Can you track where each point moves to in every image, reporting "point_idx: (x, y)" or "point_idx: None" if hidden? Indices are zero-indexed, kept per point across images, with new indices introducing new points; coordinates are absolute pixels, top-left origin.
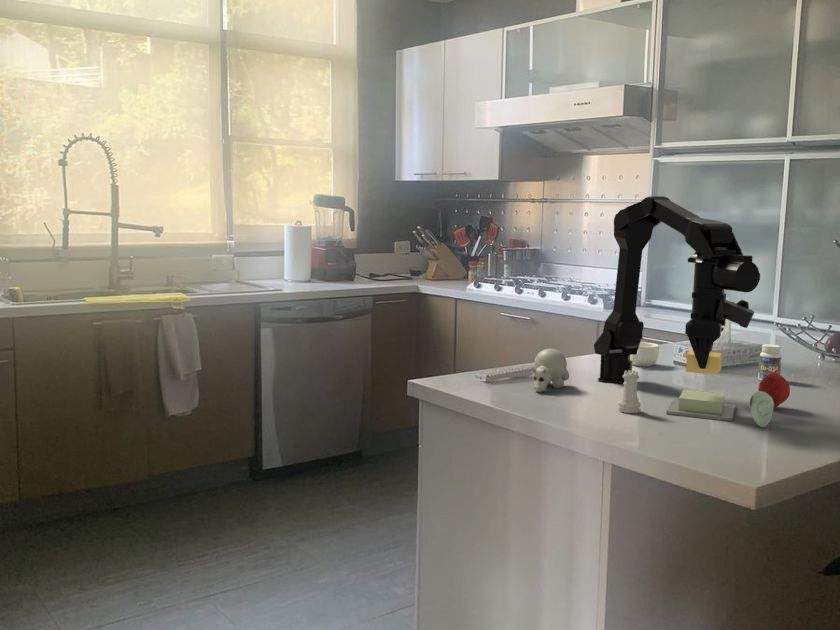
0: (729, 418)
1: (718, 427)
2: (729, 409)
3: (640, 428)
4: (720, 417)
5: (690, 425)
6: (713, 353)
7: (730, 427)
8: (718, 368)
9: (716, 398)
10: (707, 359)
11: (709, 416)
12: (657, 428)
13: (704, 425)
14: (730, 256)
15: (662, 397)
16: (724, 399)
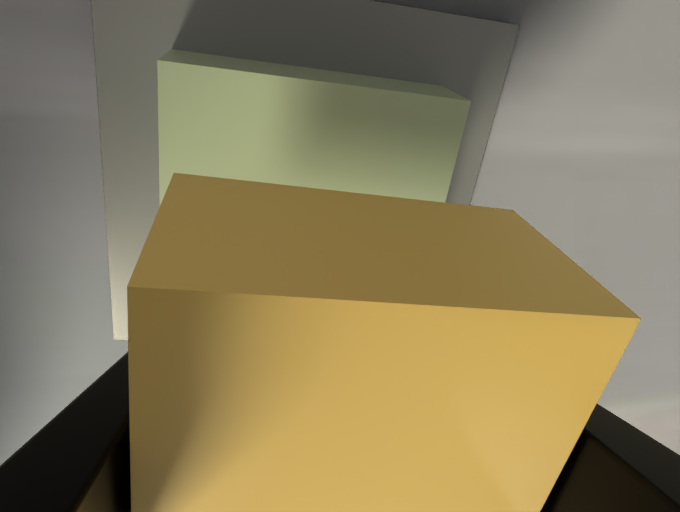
0: (514, 41)
1: (637, 111)
2: (283, 19)
3: (655, 392)
4: (497, 95)
5: (607, 236)
6: (348, 400)
7: (636, 45)
8: (546, 242)
9: (356, 135)
10: (610, 413)
11: (479, 155)
12: (655, 346)
13: (603, 177)
14: None
15: (55, 381)
16: (165, 54)
